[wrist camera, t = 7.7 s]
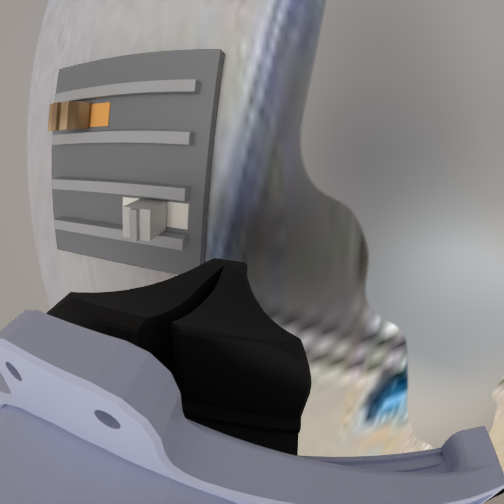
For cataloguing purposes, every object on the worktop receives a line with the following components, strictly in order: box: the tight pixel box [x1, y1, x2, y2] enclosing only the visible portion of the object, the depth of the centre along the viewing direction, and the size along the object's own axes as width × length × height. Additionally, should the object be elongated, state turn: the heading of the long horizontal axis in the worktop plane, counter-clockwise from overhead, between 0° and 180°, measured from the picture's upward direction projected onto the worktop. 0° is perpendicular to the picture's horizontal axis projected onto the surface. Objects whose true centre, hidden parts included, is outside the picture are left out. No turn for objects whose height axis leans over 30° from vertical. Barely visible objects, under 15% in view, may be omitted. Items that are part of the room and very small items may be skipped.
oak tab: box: [48, 101, 90, 131], centre depth 16 cm, size 2×2×3 cm
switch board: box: [52, 49, 225, 275], centre depth 19 cm, size 16×14×2 cm
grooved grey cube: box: [122, 198, 166, 242], centre depth 18 cm, size 2×2×3 cm
